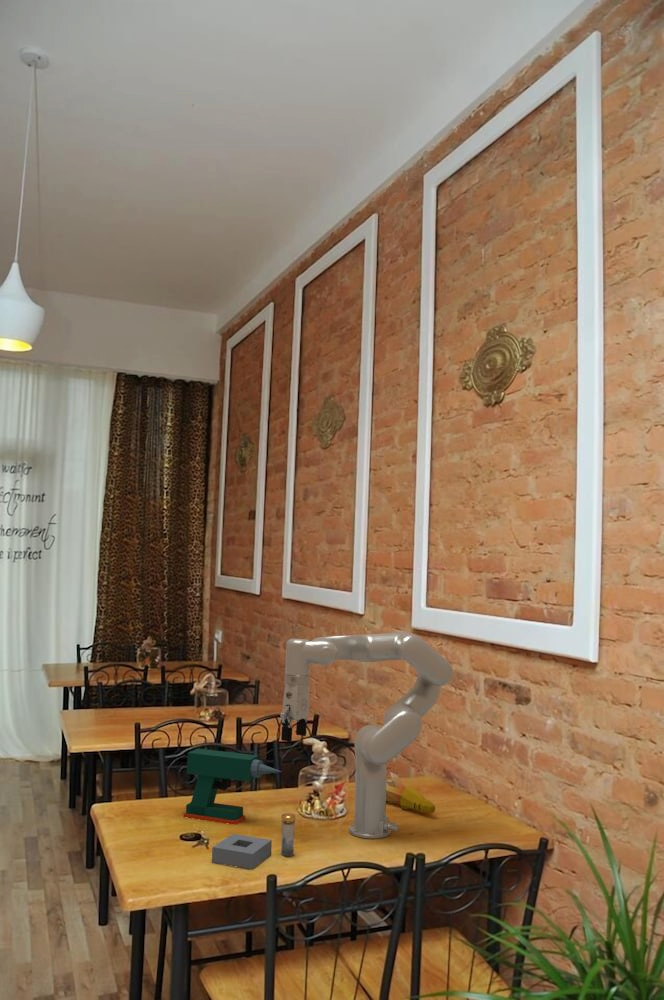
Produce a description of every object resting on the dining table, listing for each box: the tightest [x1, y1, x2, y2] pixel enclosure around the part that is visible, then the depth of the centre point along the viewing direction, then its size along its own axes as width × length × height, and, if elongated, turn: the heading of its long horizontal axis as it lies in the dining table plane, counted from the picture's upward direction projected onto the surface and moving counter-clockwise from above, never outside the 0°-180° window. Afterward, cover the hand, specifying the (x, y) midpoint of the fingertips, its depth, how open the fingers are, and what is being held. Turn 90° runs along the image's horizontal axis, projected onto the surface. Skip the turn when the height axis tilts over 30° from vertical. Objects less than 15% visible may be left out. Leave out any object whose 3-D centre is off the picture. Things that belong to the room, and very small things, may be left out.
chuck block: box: [211, 833, 273, 871], centre depth 218 cm, size 12×12×4 cm
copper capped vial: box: [280, 812, 296, 858], centre depth 222 cm, size 4×4×11 cm
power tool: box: [183, 748, 283, 826], centre depth 250 cm, size 32×7×20 cm, turn 71°
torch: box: [386, 771, 436, 814], centre depth 268 cm, size 8×8×25 cm
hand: (293, 738), depth 240 cm, fingers open, 9 cm apart
